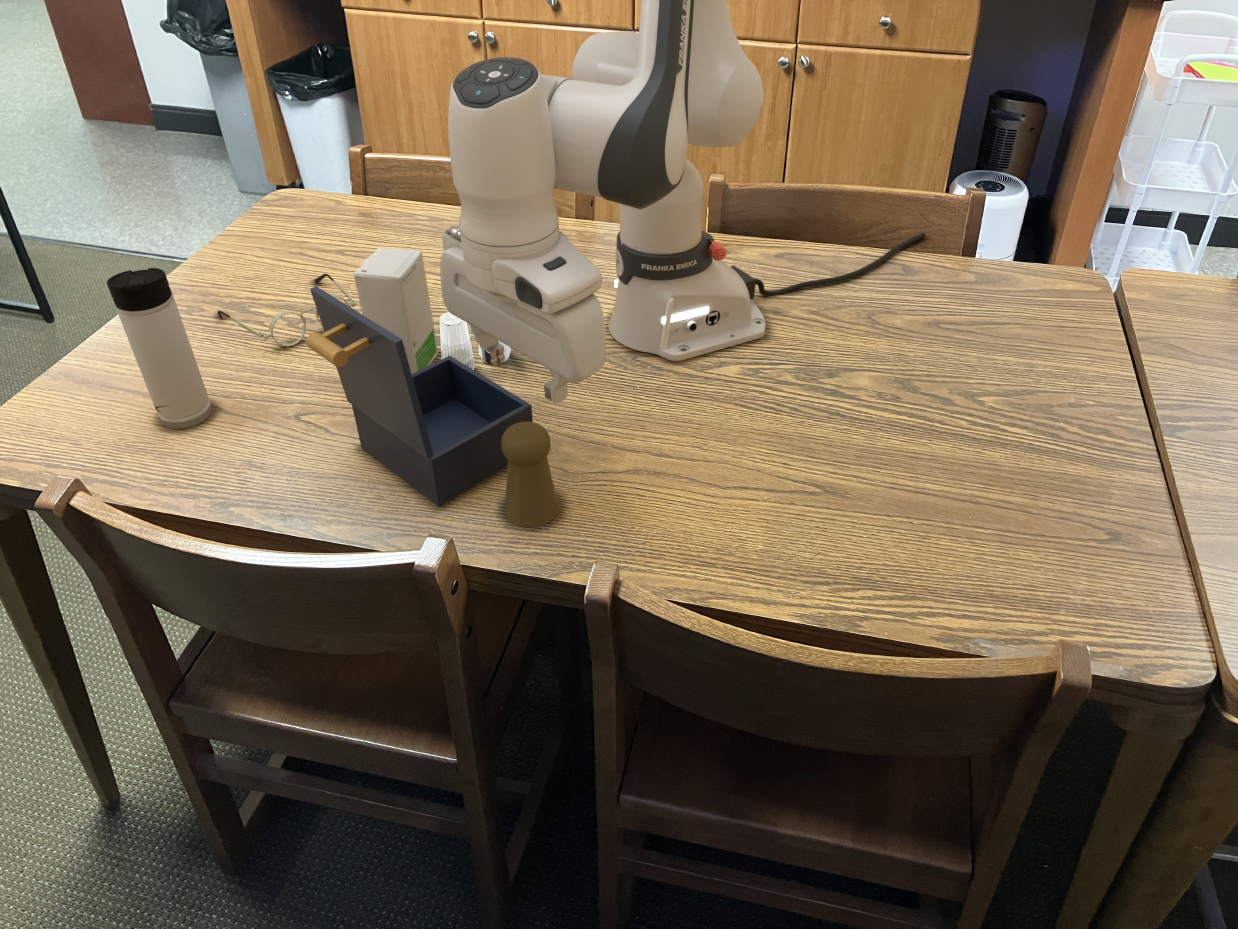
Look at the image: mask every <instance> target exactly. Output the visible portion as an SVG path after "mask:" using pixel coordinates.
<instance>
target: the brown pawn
mask: <svg viewBox="0 0 1238 929" xmlns="http://www.w3.org/2000/svg"><path fill="white" fill-rule="evenodd" d="M501 446H502V451H503V453H504V455H505V457H506V459H507V460H508V465H507V467H506V481H505V482H506V483H505V500H504V515H505V517H506V518H507V520H508V521H509V522H510V523H512V524H513V525H516V526H518V527H521V528H522V527H524V528H537V527H540V526H544V525H546V524H548V523H550V522H552V521H553V520H554V519H555V518H556V516H557V515H558V512H559V502H558V498H557V494H556V493H557V492H556V489H555V485H554V481H553V477H552V473H551V469H550V464H549V460H548V456H549V454H550V450H551V447H552V443H551V436H550V433H549V432H548V431H547V429H546V428H545V427H544V426H542V424H540V423H537V422H534V421H533V422H519V423H516V424H513V425H512V426H510V427H509V428H508V429H506V431H505V432H504V434H503V436H502V440H501Z"/></svg>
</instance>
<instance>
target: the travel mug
mask: <svg viewBox="0 0 1238 929" xmlns="http://www.w3.org/2000/svg"><path fill="white" fill-rule="evenodd" d="M106 285H107V288H108V291H109V293H110V295H111V298H112V300H113V303H114V304H113V305H114V307H115V310H116V312H117V315H118V317H119V320H120V324H121V326H122V328H123V330H124V332H125V335H126V337H127V341H128V343H129V346H130V348H131V350H132V353H133V355H134V356H133V357H134V358H135V361H136V363H137V366H138V368H139V370H140V374H141V376H142V379H143V381H144V384H145V386H146V389H147V391H148V394H149V396H150V398H151V401H152V404H153V407H154V409H155V412H156V414H157V417H158V419H159V422H160V424H161V425H163V426H164V427H166V428H168V429H173V430H183V429H188V428H193V427H195V426H198V425H199V424H201V423H203V422H204V421H206V420H207V419H208V418H209V417H210V415H211V414H212V411H213V406H212V403H211V401H210V398H209V395H208V392H207V388H206V385H205V382H204V380H203V377H202V375H201V371H200V368H199V366H198V362H197V360H196V357H195V354H194V351H193V348H192V345H191V343H190V339H189V336H188V334H187V331H186V327H185V325H184V322H183V319H182V316H181V313H180V310H179V308H178V304H177V302H176V299H175V297H174V293H173V291H172V289H171V286H170V282H169V281H168V277H167V275H166V271H165V270H163V269H162V268H158V267H148V268H147V269H137V270H132V269H129V270H125V271H122V272H119V273H117V274H113V275H112V276H110V277H109V278H108V279H107V280H106Z"/></svg>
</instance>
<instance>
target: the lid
mask: <svg viewBox="0 0 1238 929" xmlns="http://www.w3.org/2000/svg"><path fill="white" fill-rule="evenodd" d="M309 290H310V294H311V296H312V299H313V302H314V305H315V307H316V308H317V311H318V314H319V320H321V321H320V322H321V324H322V325H321V327H322V330H323V333H320V332H317V331H314V332H311V333H309V335H308V336H307V338H306V341H305V342H306V347H308V349H310V350H312V351H313V352H315V353H316V354H317V355H319V356H320V357H321V358H323V359H325V360H326V361H328V362H329V363H330V364H332V365H334V366H335V367H336V371H337V375H338V377H339V379H340V382H341V386H342V389H343V391H344V394H345V397H346V401H347V402H348V403H349V404H350V405H351V406H352V405H353V406H355V407H356V408H357V409H359V410H360V411H362V412H363V413H364V414H366V415H367V416H369V417H370V418H371V419H373V420H374V421H376V422H377V423H378V424H380V425H381V426H382V427H384V428H385V429H387V430H388V431H389V432H391V433H392V434H394V435H395V436H396V437H398V438H399V439H401V440H402V441H403V442H405V443H406V444H408V445H409V446H410V447H412V448H413V449H414V450H416V451H417V452H419V453H420V454H421V455H423V456H424V457H426V458H427V459H429V458H430V457H432V456H433V452H432V448H431V444H430V441H429V437H428V433H427V430H426V426H425V422H424V418H423V415H422V411H421V407H420V404H419V400H418V396H417V392H416V389H415V385H414V381H413V378H412V374H411V370H410V367H409V363H408V359H407V355H406V352H405V348H404V344H403V341H402V339H401V338H399V337H398V336H396V335H395V334H393V333H391V332H390V331H388V330H386V329H385V328H383V327H382V326H380V325H378V324H377V323H375V322H373V321H372V320H370V319H369V318H367V317H365V316H364V315H362V312H359V311H357V310H356V309H354V308H353V307H352V306H351V307H349V306H348V305H347V303H345V302H344V301H341V300H340V299H339V298H337V297H333V296H331V295H332V294H330V293H328V292H327V291H325V290H323V289H322V288H320V287H319V286H317V285H316V286H313V287H312V288H310V289H309Z"/></svg>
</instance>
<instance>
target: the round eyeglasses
mask: <svg viewBox="0 0 1238 929" xmlns="http://www.w3.org/2000/svg"><path fill="white" fill-rule="evenodd" d="M326 277H327V278H328V279H329V280H331V281H332V283H334V284H335V286H336V287H337V288H338V289H339V290H340V292H342V293H343V295H344V296H345V297H346V298H347V299H348V301H347V300H346V299H345V298H344V297H343V296H341V295H340V294H335V293H332V294H330V295H331V296H333V297H335V298H338V299H342V301H343V303H345V304H346V305H348V306H349V307H351V308H353V307H356V306H357V305H358V304H357V302H356V301H355V300H354V298H353V297H352V296H351V295H350V294H349V293H347V291H346V290H345V289H344V288H343V287H342V286H341V285H340V284H339V283H338V282H337V281H336V280H335V278H333V277H332V276H331V275H330V274H328V273H323V274H321V275H319V276H318V277H316V278H315V279H314V283H315V284H319V283H320V282H321V281H322V280H324V278H326ZM311 311H315V318H316V320H317V322H318V323H319V325H320V326H322V323H321V320H320V317H319V314H318V311H317V308H316V306H315V307H311V308H309V309H305V310H302V312H300V314H299V313H297V312H295V311H281V312H279V313H277V314H276V315H274V316H273V317H272V318H271V320H270V322H269V324H268V331H270V333H269V334H268V333H267V332H264V333H262V332H261V331H260V330H259V331H257V330H255V329H253V328H252V327H250V326H248V325H247V324H244V323H243V322H242V321H239V320H238V319H236V318H235V317H233V316H230V315H228V314H227V313H225V312H224V311H222V310H217V315H218V317H220V318H222V317H223V316H225V317H226V318H228V319H230V321H232V322H234V323H236V324H237V325H239V326H240V327H242V328H243V329H245V330H246V331H248V332H250V333H251V334H253V335H254V336H256V337H259V338H260V339H262V338H263V340H264V341H265V340H269V338H271V339H272V340H273V341H274V342H275V343H276V344H277V347H281V346H282V347H292V346H295V345H297V344H298V343H300V342H301V341H302V340H303V339H304V337H305V335H306V332H307V323H306V322H307V321H306V318H305V316H303V315H304V314H305V313H307V312H311ZM285 315H296V316H298V317H300V319H301V320H302V323H303V325H301V329H303V330H302V333H301V335H300V337H299V338H298V339H297V340H295V341H292V342H289V343H287V342H279V341H277V340H276V339H275V337H274V327H275V325H276V323H277V321H278V320H279V319H280V318H282V317H284V316H285Z"/></svg>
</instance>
